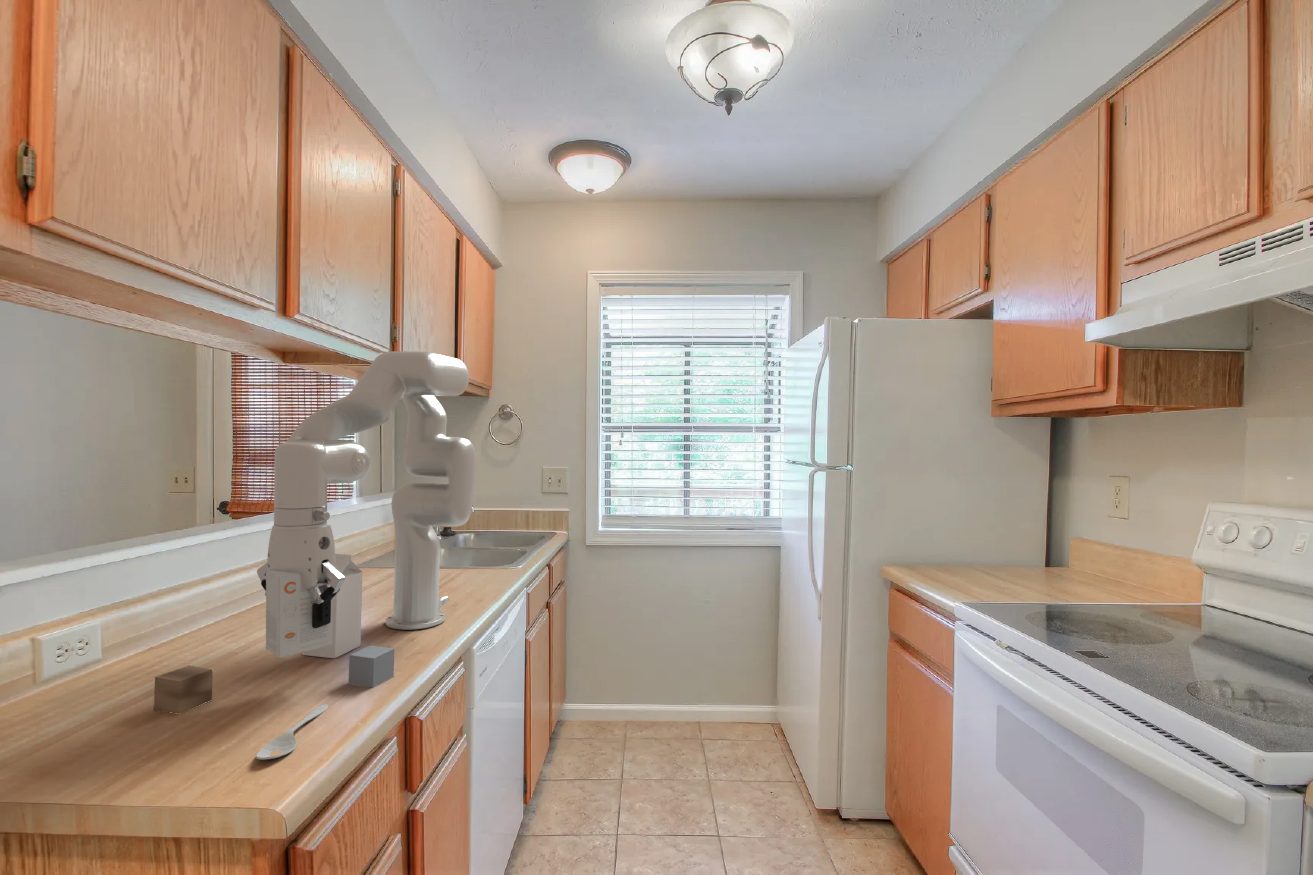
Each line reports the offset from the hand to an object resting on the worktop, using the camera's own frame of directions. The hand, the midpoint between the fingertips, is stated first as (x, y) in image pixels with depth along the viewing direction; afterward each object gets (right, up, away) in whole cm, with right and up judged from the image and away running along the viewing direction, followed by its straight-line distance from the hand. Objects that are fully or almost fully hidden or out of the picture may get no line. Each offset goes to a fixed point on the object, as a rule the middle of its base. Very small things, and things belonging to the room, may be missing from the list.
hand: (299, 622), depth 98 cm
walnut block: (-14, -11, -6) cm, 19 cm away
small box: (0, -4, 0) cm, 4 cm away
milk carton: (-5, -11, +18) cm, 22 cm away
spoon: (+8, -12, -12) cm, 19 cm away
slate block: (+9, -12, +5) cm, 16 cm away
